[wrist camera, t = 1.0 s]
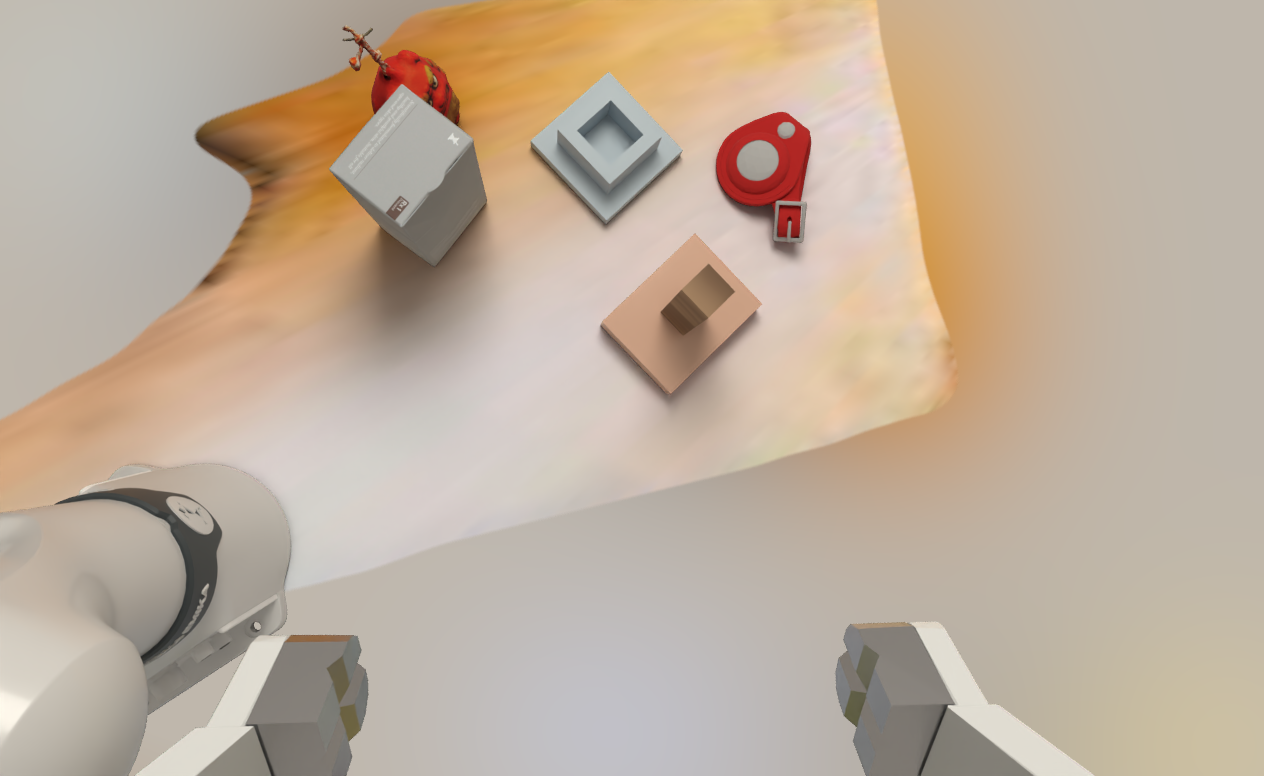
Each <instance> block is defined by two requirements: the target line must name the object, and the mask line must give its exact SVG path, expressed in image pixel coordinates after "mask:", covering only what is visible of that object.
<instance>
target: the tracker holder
mask: <svg viewBox="0 0 1264 776" xmlns="http://www.w3.org/2000/svg"><path fill="white" fill-rule="evenodd" d="M810 148H811V137H810V131H809V130H808V129H807V128H805V127H804V126H803V125H802V124H800V123H799V122H798V121H797V120H795V119H794V118H793V117H792V116H790V115H789V114H788V113H785V112H777V113H773V114H770V115H768V116H765V117H762V118H760V119H757V120H754V121H752V122H750V123H748V124H746V125H744V126H742V127H740V128H738V129H737V130H735V131H734V132H732V133H731V134H730V135H729V136H728V137H727V138H726V139H725V140H724V142H723V144H722V145H721V147H720V149H719V152H718V156H717V161H716V170H717V176H718V179H719V182H720V184H721V186H722V188H723V189H724V191H725V192H726V193H727V194H728V195H729V196H730V197H731V198H732V199H734V200H735V201H737V202H739V203H742V204H744V205H749V206H764V205H768V204H772V206H773V210H774V213H775V220H774V233H773V240H774V241H780V242H787V243H789V242H797V243H802V242H803V238H804V228H805V217H806V207H807V203H806V202H801V196H802V191H803V185H804V180H805V174H806V169H807V163H808V159H809V154H810ZM801 206H802V207H803V208H802V219H801V230H800V217H801ZM777 231H778V235H777ZM799 234H800V237H799Z"/></svg>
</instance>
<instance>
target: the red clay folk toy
mask: <svg viewBox="0 0 1264 776" xmlns="http://www.w3.org/2000/svg"><path fill="white" fill-rule="evenodd" d="M342 29H343V30H345V31H348V32H349V31H350V32H351V33H352V34H353V35H354V38H349V39H343V41H351V40H355V42H356V43H357V44H358V45H359V47H360V48H359V52H358V53H357V55H356V56H355V57H353V58H350V59H349V63H350V65H351V67H352V68H353V69H354V70H355V71H359V70H360V67H361V63H360V59H361V54H362V52H363V48H365V49H366V50H367V51H368V52H369V53H370V54H371V55H372V58H373V59H374V61H375V62H378V63H379V65H380V66H379V68H378V72H377V75H376V78H375V82H374V85H373V88H372V94H371V98H372V107H373V111H374V114H376V113H377V111H378V110H379V109H380V108H381V107H382V106H383V105H384V103H385V102H386V101H387V100H388V99H389V98H390V97H391V95H392V94H393V93H394V92H395V91H396V90H397V89H398V87H399V86H400V85H401V84H403V85H404V86H405V87H407V88H408V89H409V90H411V91H412V92H413V93H414V94H416V95H417V96H418V97H420V98H421V99H422V100H424V101H425V102H426V103H428V104H429V105H430V106H432V107H433V108H434V109H436V110H437V111H438V112H439V113H441V114H442V115H443V116H445V117H446V118H447V119H449V120H450V121H451V122H452V123H454V124H455V125H457V123H458V121H459V117H460V115H459V99H458V98H457V97H456V95H455V94H454V92H453V90H452V88H451V87H450V85H449V83H448V81H447V77H446V74H445V72H444V71H443V70H442V69H441V68H440V67H439V66H437V65H436V63H434V62H433V61H432V60H431V59H428V58H424V57H421V56H418V55H417V54H416V53H414V52H411V51H408V50H402V51H401V52H399V53H398V55H396V56H392V57H389V58H387V59H385V61H384V62H383V61H382V60H381V59H380V58H381V55H382V54H381V52H380V51H378V50H374V51H373V50H372V48H371V47H370V46H369V45H368V43H367V42H366V41H365V40H364V36H367V35H368V34H369V33H370V32H371V31H372V30H373V29H372V28H370V30H369V31H368V32H367V33H365V34H362V35H360V34H359V35H358V34H357V33H356V32H355V31H354V30H353V29H351V28H350V27H348V26H346V25H345V27H344V28H342Z"/></svg>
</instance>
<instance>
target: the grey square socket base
mask: <svg viewBox="0 0 1264 776" xmlns="http://www.w3.org/2000/svg"><path fill="white" fill-rule="evenodd" d="M531 147H532V148H533V149H534V150H535V151H536V152H537V153H538V154H539V155H540V156H541V157H542V158H543V159H544V160H545V161H546V162H547V163H548V165H549V166H550V167H551V168H552V169H553V170H554V171H555V172H556V173H557V174H558V175H559V176H560V177H561V178H562V179H563V180H564V181H565V182H566V183H567V184H568V185H569V187H570V188H571V189H572V190H573V191H574V192H575V193H576V194H577V195H578V196H579V197H580V198H581V199H582V200H583V201H584V202H585V203H586V204H587V205H588V206H589V207H590V209H591V210H592V211H593V212H594V213H595V214H596V215H597V216H598V217H599V218H600V219H601V220H602V221H603V222H604V223H605V224H606V223H608V222H609V221H610V220H611V219H612V218H613V217H614V216H615V215H616V214H617V213H618V212H619V211H621V210H622V209H623V208H624V207H625V206H626V205H627V204H628V203H629V202H630V201H631V200H632V199H634V198H635V197H636V196H637V195H638V194H639V193H640V192H641V191H642V190H643V189H644V188H645V187H646V186H648V185H649V184H650V183H651V182H652V181H653V180H654V179H655V178H656V177H657V176H658V175H659V174H661V173H662V172H663V171H664V170H665V169H666V168H667V167H668V166H669V165H670V164H671V163H672V162H674V161H675V160H676V159H677V158H678V157H679V156H680V155H681V153H682V151H683V150H682V149H681V148H680V147H679V146H678V145H677V144H676V143H675V141H674V140H673V139H672V138H671V137H670V136H669V135H668V134H667V133H666V132H665V131H664V130H663V129H662V128H661V127H660V126H659V124H658V123H657V122H656V121H655V120H654V119H653V118H652V117H651V116H650V115H649V114H648V113H647V112H646V111H645V110H644V109H643V108H642V106H641V105H640V104H639V103H638V102H637V101H636V100H635V99H634V98H633V97H632V96H631V95H630V94H629V93H628V92H627V91H626V89H625V88H624V87H623V86H622V85H621V84H620V83H619V82H618V81H617V80H616V79H615V78H614V77H613V76H612V75H611V74H610V73H609V72H608V73H607V74H606V75H604V76H603V77H602V78H601V79H600V80H599V81H598V82H597V83H595V84H594V85H593V86H592V87H591V88H590V89H589V90H588V91H586V92H585V93H584V94H583V95H582V96H581V97H580V98H579V99H577V100H576V101H575V102H574V103H573V104H572V105H571V106H569V107H568V108H567V109H566V110H565V111H564V112H563V113H562V114H560V115H559V116H558V117H557V118H556V119H555V120H554V121H553V122H551V123H550V124H549V125H548V126H547V127H546V128H545V129H544V130H542V131H541V132H540V133H539V134H538V135H537V136H536V137H534V138H533V139H532V140H531Z"/></svg>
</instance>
